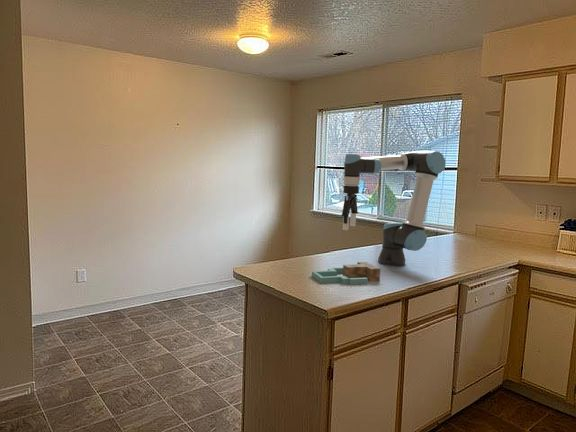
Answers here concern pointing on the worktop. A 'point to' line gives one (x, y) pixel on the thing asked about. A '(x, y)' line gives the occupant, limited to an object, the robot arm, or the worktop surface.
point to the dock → (336, 277)
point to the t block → (362, 271)
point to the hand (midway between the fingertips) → (349, 228)
